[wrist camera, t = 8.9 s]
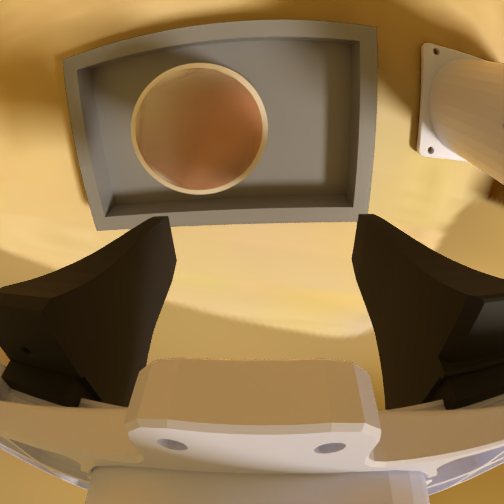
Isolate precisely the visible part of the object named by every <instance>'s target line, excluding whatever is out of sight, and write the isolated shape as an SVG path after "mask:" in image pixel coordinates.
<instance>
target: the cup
mask: <svg viewBox="0 0 504 504" xmlns="http://www.w3.org/2000/svg"><path fill="white" fill-rule="evenodd" d="M267 136H268V122H267V115H266V111H265V108H264V105H263V102H262V100H261V98H260V96H259V94H258V93H257V91H256V90H255V88H254V86H253V85H252V83H251V82H250V81H249V80H248V79H247V78H246V77H245V76H244V75H242V74H241V73H239V72H237V71H235V70H232V69H229V68H226V67H223V66H220V65H216V64H211V63H190V64H185V65H180V66H177V67H174V68H172V69H169V70H168V71H166V72H164V73H162V74H161V75H159V76H158V77H156V78H155V79H154V80H153V81H152V82H151V83H150V84H149V85H148V86H147V87H146V88H145V89H144V91H143V92H142V94H141V95H140V97H139V99H138V100H137V103H136V105H135V107H134V111H133V114H132V120H131V138H132V143H133V147H134V150H135V153H136V155H137V157H138V159H139V161H140V163H141V164H142V166H143V167H144V168H145V170H146V171H147V172H148V173H149V174H150V175H151V176H152V177H153V178H155V179H156V180H157V181H158V182H160V183H161V184H163V185H165V186H166V187H169V188H171V189H173V190H176V191H179V192H182V193H187V194H196V195H200V194H211V193H216V192H220V191H223V190H226V189H228V188H230V187H232V186H234V185H236V184H238V183H239V182H240V181H242V180H243V179H244V178H245V177H247V176H248V175H249V174H250V173H251V172H252V170H253V169H254V168H255V167H256V165H257V164H258V162H259V160H260V159H261V157H262V154H263V152H264V149H265V146H266V143H267Z"/></svg>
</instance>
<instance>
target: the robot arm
mask: <svg viewBox="0 0 504 504" xmlns="http://www.w3.org/2000/svg"><path fill="white" fill-rule="evenodd" d="M434 48H435V49H436V50H437V54H436V55H435V54H434V52H433V50H434ZM429 147H431V151H430V152H428V148H429ZM417 152H418V153H419V154H420V155H421V156H424V157H433V158H442V159H450V160H458V161H466V162H470V163H472V164H473V165H475V166H476V167H478V168H479V169H481V170H482V171H484V172H485V173H487V174H488V175H490V176H491V177H493V178H494V179H496V180H497V181H499V182H500V183H502V184H503V185H504V63H498V62H491V61H486V60H483V59H481V58H478V57H475V56H472V55H469V54H466V53H463V52H460V51H457V50H453V49H450V48H447V47H443V46H439V45H436V44H432V43H424V44H423V45H422V48H421V100H420V116H419V129H418V139H417ZM176 261H177V260H176V255H175V249H174V244H173V239H172V233H171V228H170V222H169V217H168V216H154V217H151V218H149V219H147V220H146V221H144V222H142V223H141V224H139V225H137V226H136V227H134V228H133V229H131V230H130V231H128V232H127V233H125V234H124V235H122V236H121V237H119V238H117V239H116V240H114V241H113V242H111V243H109V244H108V245H106V246H105V247H103V248H101V249H100V250H98V251H96V252H94V253H93V254H91V255H89V256H87V257H85V258H83V259H81V260H79V261H77V262H75V263H73V264H71V265H68V266H66V267H64V268H61V269H59V270H57V271H54V272H52V273H49V274H46V275H44V276H41V277H38V278H35V279H32V280H28V281H24V282H20V283H17V284H13V285H9V286H4V287H2V288H0V347H1V348H2V349H3V351H4V352H5V353H6V355H7V356H8V358H9V359H10V362H9V364H8V365H7V367H6V366H5V365H4V364H2V363H0V448H1V449H3V450H5V451H6V452H8V453H10V454H12V455H14V456H15V457H17V458H19V459H21V460H23V461H25V462H27V463H29V464H30V465H32V466H34V467H37V468H38V469H41V470H43V471H45V472H47V473H49V474H51V475H53V476H55V477H58V478H60V479H62V480H64V481H66V482H69V483H71V484H73V485H76V486H78V487H81V488H84V489H86V490H88V493H87V497H86V501H85V504H430V502H429V495H431V494H434V493H437V492H439V491H442V490H445V489H447V488H450V487H452V486H455V485H457V484H460V483H462V482H464V481H466V480H469V479H471V478H473V477H475V476H478V475H480V474H482V473H484V472H486V471H488V470H490V469H492V468H494V467H496V466H498V465H500V464H502V463H504V279H501V278H498V277H494V276H491V275H488V274H485V273H482V272H479V271H477V270H474V269H471V268H469V267H467V266H464V265H462V264H459V263H457V262H455V261H453V260H451V259H449V258H447V257H445V256H443V255H441V254H439V253H437V252H435V251H433V250H432V249H430V248H428V247H426V246H425V245H423V244H421V243H420V242H418V241H416V240H415V239H413V238H412V237H410V236H409V235H407V234H405V233H404V232H402V231H401V230H399V229H398V228H396V227H395V226H393V225H392V224H390V223H389V222H387V221H385V220H384V219H382V218H380V217H379V216H377V215H374V214H359V215H358V222H357V229H356V235H355V242H354V248H353V254H352V263H353V268H354V272H355V276H356V280H357V283H358V286H359V289H360V291H361V294H362V297H363V300H364V302H365V305H366V308H367V311H368V313H369V316H370V319H371V322H372V325H373V328H374V332H375V336H376V340H377V345H378V350H379V356H380V362H381V369H382V375H383V385H384V394H385V409H386V410H377V406H376V401H375V397H374V392H373V388H372V385H371V380H370V375H369V373H368V372H366V371H365V370H363V369H361V368H360V367H359V366H357V365H356V364H354V363H353V362H349V361H342V360H333V359H324V358H319V359H318V358H317V359H286V360H239V359H208V358H188V357H180V358H171V359H160V360H155V361H152V362H151V363H150V364H148V365H147V366H146V363H147V358H148V353H149V348H150V343H151V339H152V334H153V331H154V328H155V325H156V322H157V319H158V317H159V314H160V311H161V309H162V306H163V304H164V301H165V298H166V296H167V293H168V290H169V288H170V285H171V282H172V279H173V275H174V270H175V266H176Z"/></svg>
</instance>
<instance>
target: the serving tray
mask: <svg viewBox="0 0 504 504" xmlns="http://www.w3.org/2000/svg"><path fill="white" fill-rule="evenodd" d="M190 63H211V64H216V65H220V66H223V67H226V68H229V69H232V70H235V71H237V72H239V73H241V74H242V75H244V76H245V77H246V78H247V79H248V80H249V81H250V82H251V83H252V85H253V86H254V88H255V90H256V91H257V93H258V94H259V96H260V98H261V100H262V102H263V105H264V108H265V111H266V115H267V122H268V136H267V143H266V146H265V149H264V152H263V154H262V157H261V159H260V160H259V162H258V164H257V165H256V167H255V168H254V169H253V170H252V172H251V173H250V174H249V175H248V176H247V177H245V178H244V179H243V180H242V181H240V182H239V183H238V184H236V185H234V186H232V187H230V188H228V189H226V190H223V191H220V192H216V193H211V194H200V195H196V194H187V193H182V192H179V191H176V190H173V189H171V188H169V187H166V186H165V185H163V184H161V183H160V182H158V181H157V180H156V179H155V178H153V177H152V176H151V175H150V174H149V173H148V172H147V171H146V170H145V168H144V167H143V166H142V164H141V163H140V161H139V159H138V157H137V155H136V153H135V150H134V147H133V143H132V138H131V120H132V114H133V111H134V107H135V105H136V103H137V100H138V99H139V97H140V95H141V94H142V92H143V91H144V89H145V88H146V87H147V86H148V85H149V84H150V83H151V82H152V81H153V80H154V79H155V78H156V77H158V76H159V75H161V74H162V73H164V72H166V71H168V70H169V69H172V68H174V67H177V66H180V65H185V64H190ZM63 70H64V79H65V88H66V95H67V102H68V109H69V115H70V121H71V127H72V132H73V138H74V143H75V148H76V152H77V157H78V162H79V166H80V170H81V175H82V179H83V183H84V187H85V191H86V195H87V198H88V202H89V206H90V209H91V213H92V216H93V220H94V223H95V227H96V230H97V231H103V230H119V229H133V228H134V227H136V226H137V225H139V224H141V223H142V222H144V221H146V220H147V219H149V218H151V217H154V216H168V217H169V222H170V227H176V226H199V225H226V224H258V223H300V222H358V215H359V214H368V208H369V200H370V191H371V182H372V172H373V160H374V148H375V133H376V114H377V28H376V27H373V26H366V25H359V24H350V23H341V22H329V21H314V20H249V21H234V22H222V23H212V24H204V25H196V26H189V27H183V28H177V29H171V30H166V31H161V32H156V33H151V34H147V35H142V36H138V37H134V38H130V39H126V40H122V41H118V42H115V43H111V44H108V45H104V46H101V47H98V48H95V49H92V50H89V51H86V52H83V53H80V54H77V55H74V56H71V57H69V58H66V59H64V60H63Z"/></svg>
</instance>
